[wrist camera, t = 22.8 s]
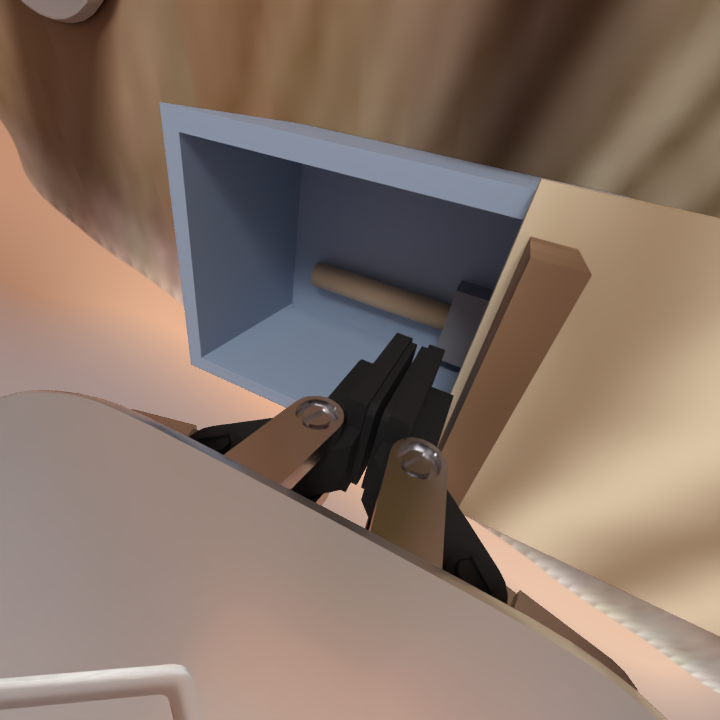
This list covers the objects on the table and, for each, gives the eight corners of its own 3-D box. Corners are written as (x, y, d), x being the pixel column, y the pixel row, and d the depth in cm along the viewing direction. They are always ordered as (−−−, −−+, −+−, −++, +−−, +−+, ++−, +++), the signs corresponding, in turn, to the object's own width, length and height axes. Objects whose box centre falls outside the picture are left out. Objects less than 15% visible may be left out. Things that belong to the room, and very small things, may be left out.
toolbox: (289, 304, 27) (191, 364, 19) (301, 123, 21) (159, 102, 13) (520, 390, 23) (515, 512, 15) (629, 197, 16) (722, 233, 8)
